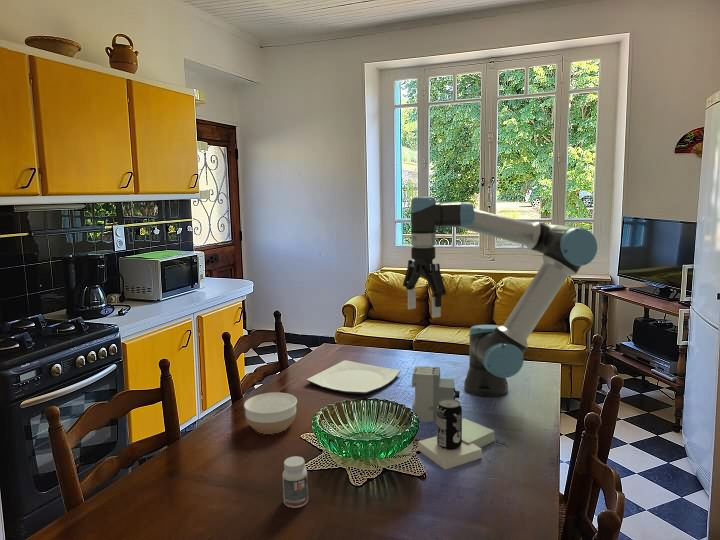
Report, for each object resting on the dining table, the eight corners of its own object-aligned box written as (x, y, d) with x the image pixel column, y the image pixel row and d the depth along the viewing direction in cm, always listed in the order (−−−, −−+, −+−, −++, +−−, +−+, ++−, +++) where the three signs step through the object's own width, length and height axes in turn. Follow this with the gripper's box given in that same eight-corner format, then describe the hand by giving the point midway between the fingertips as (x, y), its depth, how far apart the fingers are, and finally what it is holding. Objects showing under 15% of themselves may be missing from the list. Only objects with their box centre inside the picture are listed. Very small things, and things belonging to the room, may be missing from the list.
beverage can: (463, 441, 144) (463, 399, 142) (459, 452, 137) (460, 408, 136) (439, 437, 146) (439, 396, 144) (434, 448, 140) (434, 405, 138)
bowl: (234, 428, 161) (233, 403, 160) (276, 411, 172) (275, 388, 171) (266, 444, 150) (265, 417, 149) (309, 425, 161) (308, 400, 160)
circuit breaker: (459, 423, 160) (459, 376, 158) (412, 420, 163) (411, 373, 161) (459, 413, 168) (459, 368, 165) (414, 410, 170) (414, 366, 168)
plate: (405, 376, 203) (405, 369, 203) (367, 401, 179) (367, 394, 179) (344, 364, 218) (344, 358, 218) (301, 387, 195) (301, 380, 194)
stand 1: (453, 439, 150) (453, 431, 150) (481, 457, 139) (481, 448, 139) (418, 450, 144) (418, 441, 144) (445, 469, 134) (445, 460, 133)
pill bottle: (312, 503, 121) (311, 462, 119) (290, 512, 118) (288, 470, 116) (301, 491, 125) (299, 452, 124) (279, 499, 122) (277, 459, 121)
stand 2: (464, 427, 157) (464, 418, 157) (494, 440, 149) (494, 430, 148) (438, 439, 150) (438, 429, 150) (468, 453, 142) (468, 442, 141)
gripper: (392, 244, 174) (393, 307, 177) (437, 250, 152) (437, 322, 155) (411, 242, 178) (411, 304, 181) (458, 248, 156) (457, 318, 159)
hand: (423, 312), depth 168 cm, fingers open, 13 cm apart
